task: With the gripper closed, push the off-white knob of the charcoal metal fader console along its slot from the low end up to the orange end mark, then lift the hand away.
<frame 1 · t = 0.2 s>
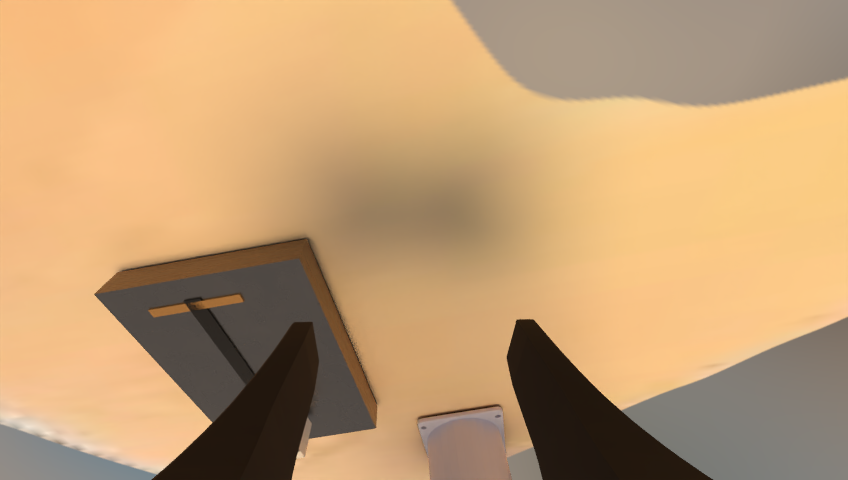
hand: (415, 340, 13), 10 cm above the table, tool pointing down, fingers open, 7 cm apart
fader console: (270, 351, 26), on the table
fader knob: (269, 437, 26), point 4 cm above the table, slide at 0.0 cm
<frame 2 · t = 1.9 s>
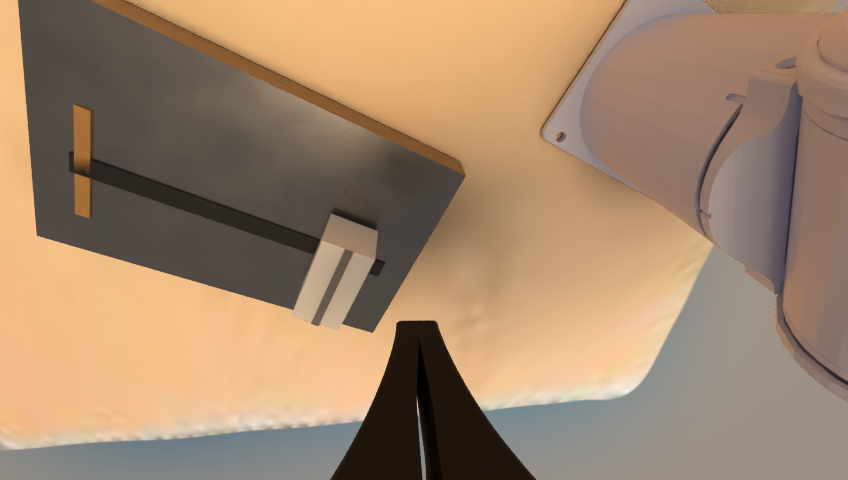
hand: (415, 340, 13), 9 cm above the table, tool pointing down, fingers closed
fader console: (262, 189, 19), on the table
fader knob: (334, 273, 18), point 4 cm above the table, slide at 0.0 cm
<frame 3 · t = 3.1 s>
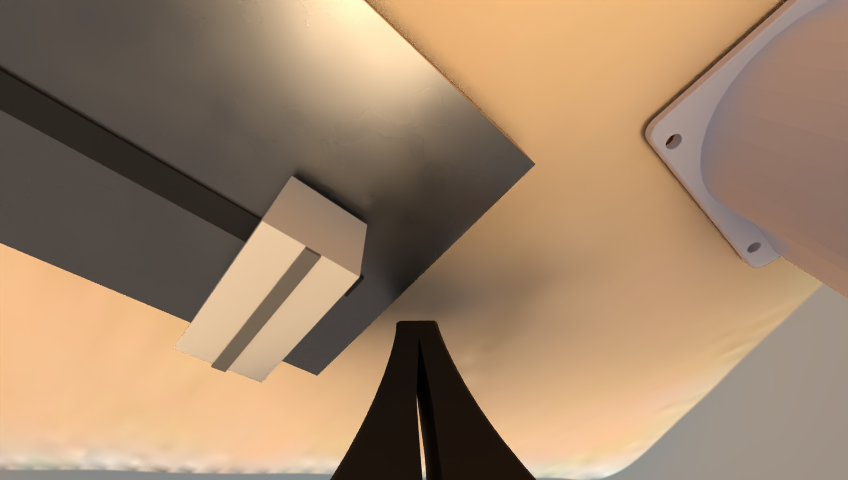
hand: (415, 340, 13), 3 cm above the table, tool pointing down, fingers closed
fader console: (175, 108, 11), on the table
fader knob: (275, 284, 10), point 4 cm above the table, slide at 0.0 cm
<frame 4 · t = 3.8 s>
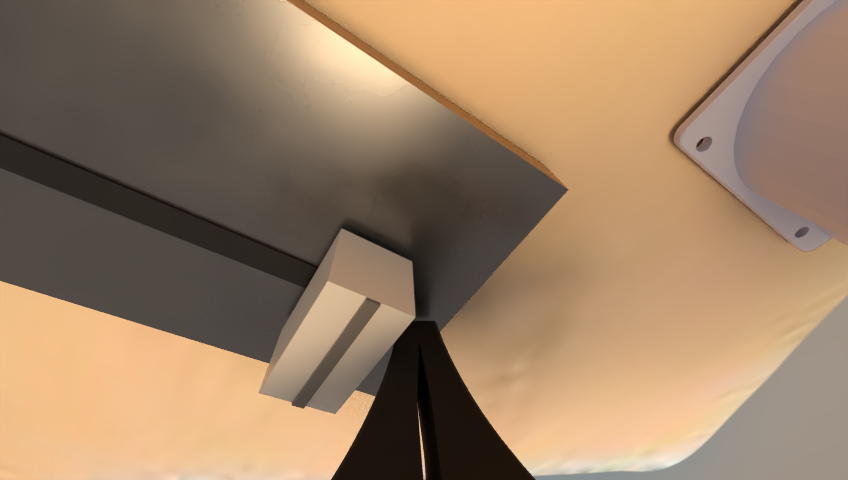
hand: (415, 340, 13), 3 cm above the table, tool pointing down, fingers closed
fader console: (235, 179, 12), on the table
fader knob: (337, 326, 11), point 4 cm above the table, slide at 0.2 cm, touching gripper
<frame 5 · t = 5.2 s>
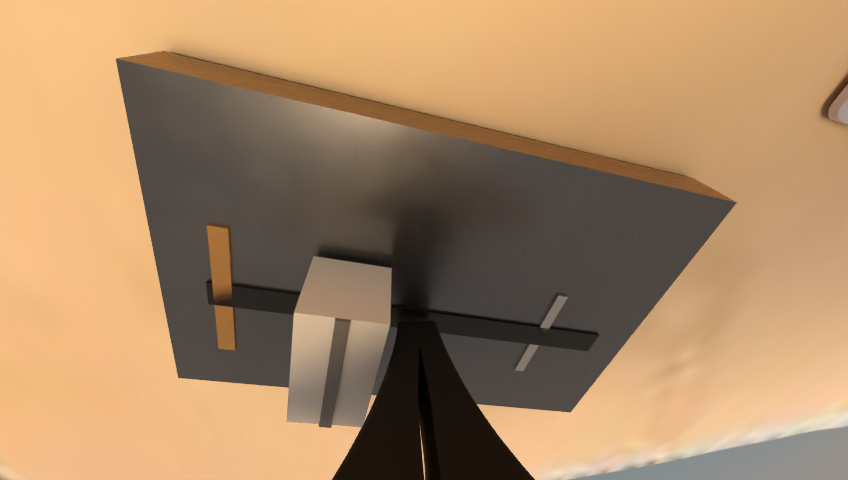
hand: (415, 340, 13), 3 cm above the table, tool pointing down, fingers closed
fader console: (422, 267, 15), on the table
fader knob: (338, 346, 11), point 4 cm above the table, slide at 7.8 cm, touching gripper
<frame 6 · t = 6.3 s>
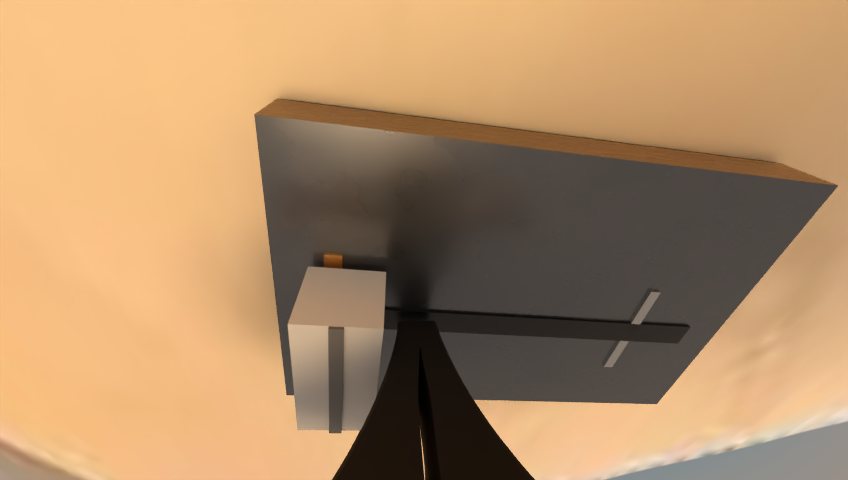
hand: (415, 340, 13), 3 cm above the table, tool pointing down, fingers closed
fader console: (507, 273, 15), on the table
fader knob: (341, 352, 12), point 4 cm above the table, slide at 11.5 cm, touching gripper
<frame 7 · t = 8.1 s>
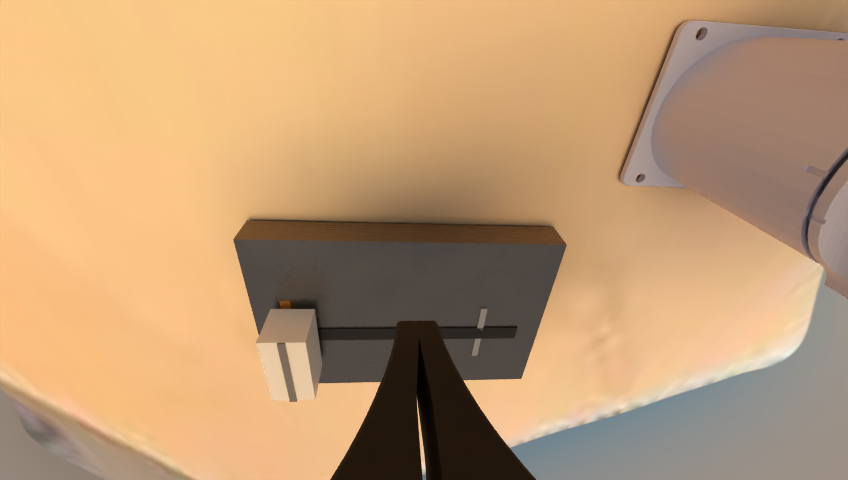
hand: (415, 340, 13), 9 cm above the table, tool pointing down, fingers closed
fader console: (403, 300, 24), on the table
fader knob: (293, 355, 21), point 4 cm above the table, slide at 11.5 cm
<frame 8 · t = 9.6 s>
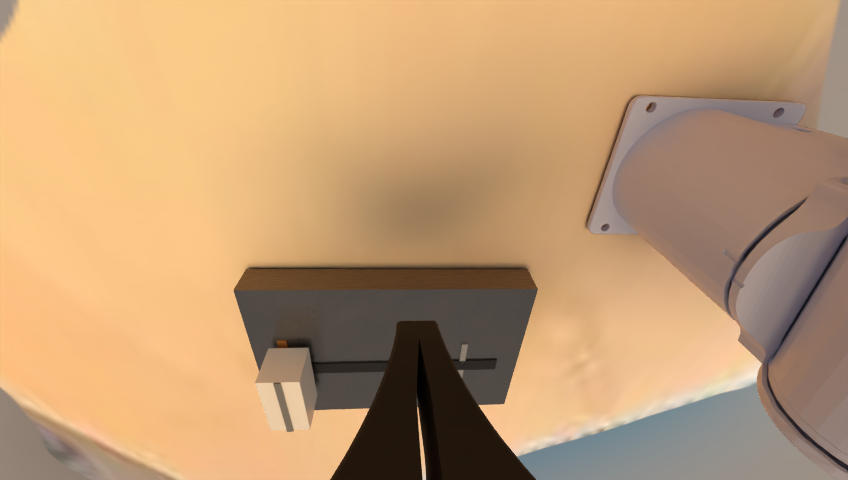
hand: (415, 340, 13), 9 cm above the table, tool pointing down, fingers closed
fader console: (391, 334, 26), on the table
fader knob: (289, 390, 23), point 4 cm above the table, slide at 11.5 cm
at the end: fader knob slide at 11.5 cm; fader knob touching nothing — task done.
